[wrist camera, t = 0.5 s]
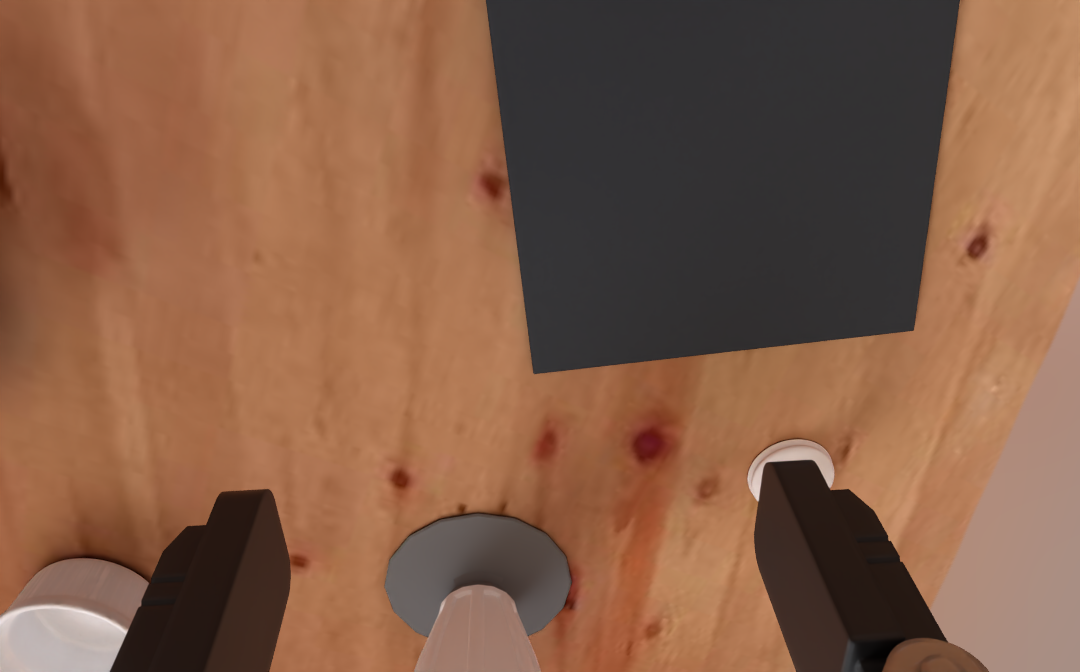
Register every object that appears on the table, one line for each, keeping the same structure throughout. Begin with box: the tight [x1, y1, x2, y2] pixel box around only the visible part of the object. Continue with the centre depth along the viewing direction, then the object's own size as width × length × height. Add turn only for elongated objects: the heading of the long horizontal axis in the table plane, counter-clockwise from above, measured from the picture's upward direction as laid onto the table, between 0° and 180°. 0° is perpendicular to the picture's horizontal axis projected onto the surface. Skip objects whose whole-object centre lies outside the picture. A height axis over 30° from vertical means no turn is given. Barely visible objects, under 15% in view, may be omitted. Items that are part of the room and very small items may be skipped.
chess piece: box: [748, 439, 834, 501], centre depth 45 cm, size 5×5×10 cm
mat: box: [486, 0, 960, 374], centre depth 40 cm, size 20×20×1 cm
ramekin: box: [0, 558, 149, 672], centre depth 50 cm, size 9×9×4 cm
